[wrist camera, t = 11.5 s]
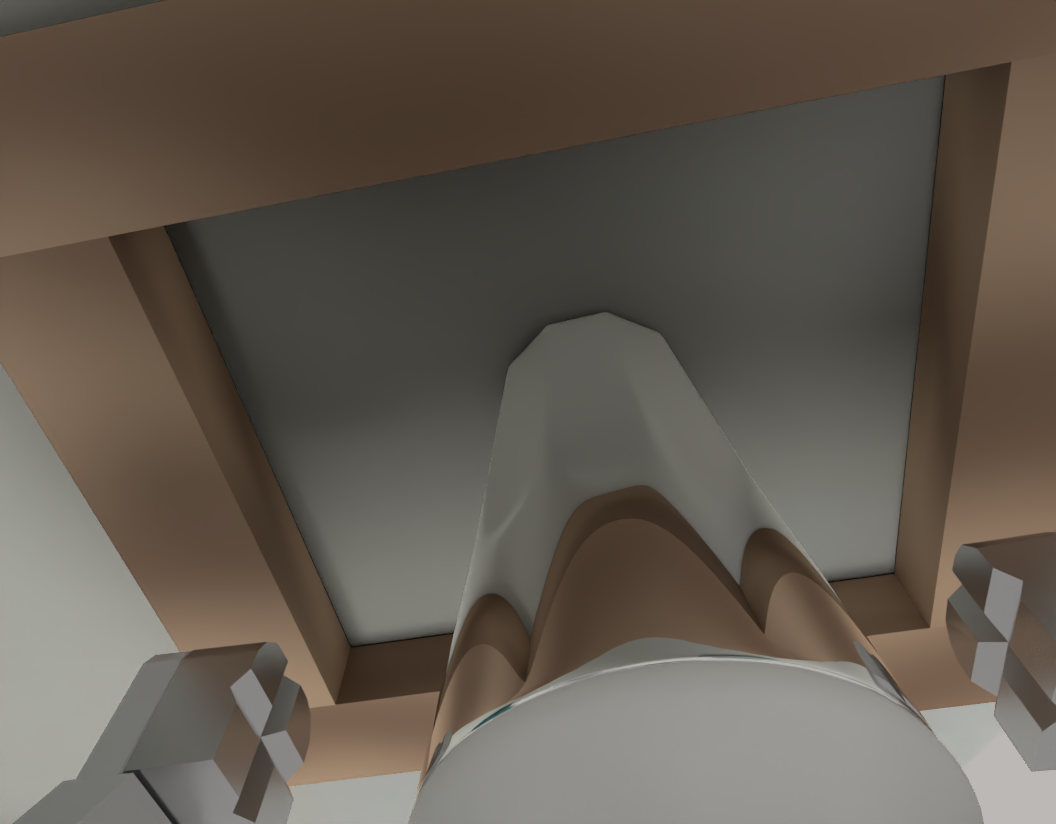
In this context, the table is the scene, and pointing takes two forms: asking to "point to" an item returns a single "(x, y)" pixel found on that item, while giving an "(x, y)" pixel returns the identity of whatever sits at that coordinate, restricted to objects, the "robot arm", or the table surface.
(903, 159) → the table surface
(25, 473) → the table surface
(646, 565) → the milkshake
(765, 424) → the table surface
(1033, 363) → the wooden frame
